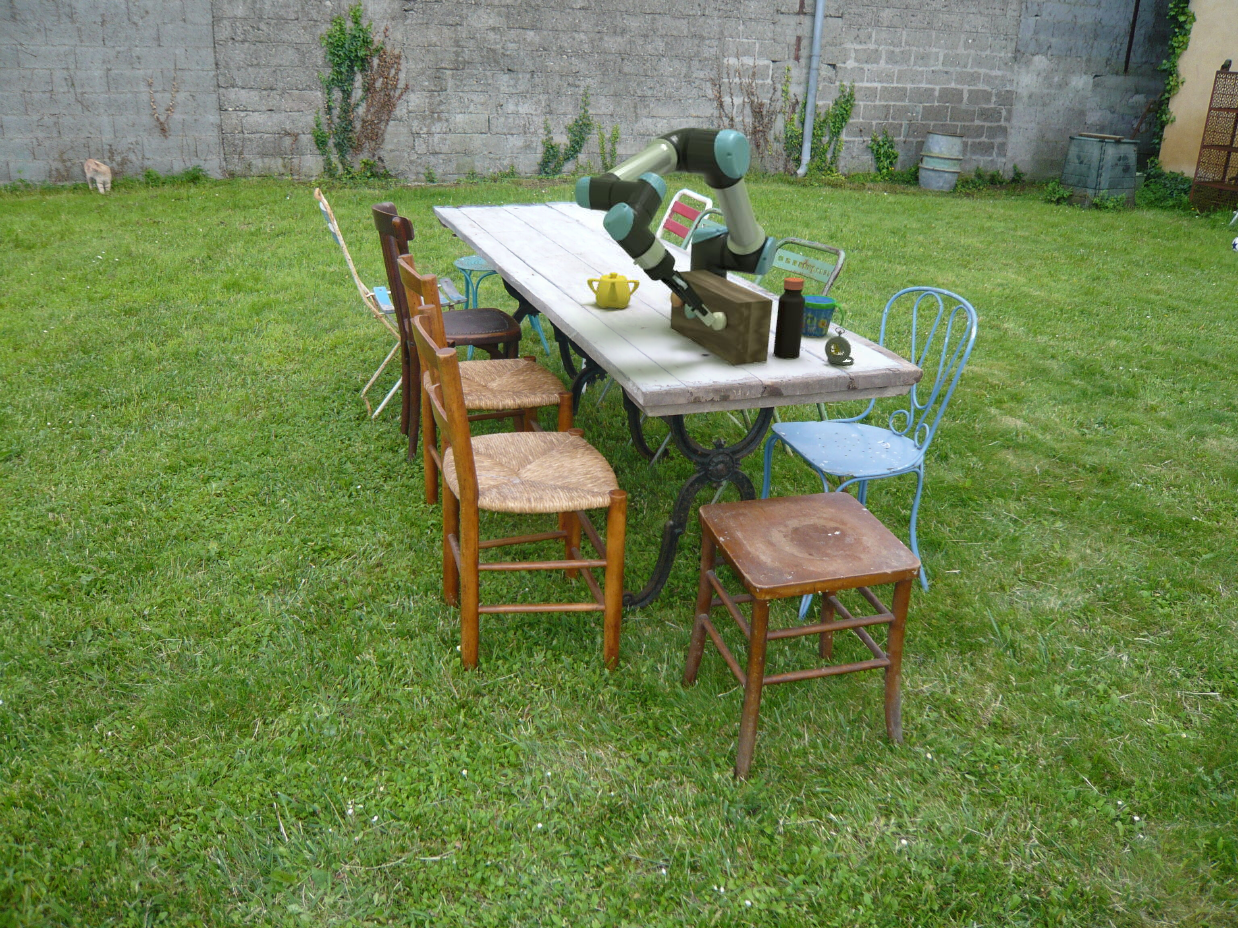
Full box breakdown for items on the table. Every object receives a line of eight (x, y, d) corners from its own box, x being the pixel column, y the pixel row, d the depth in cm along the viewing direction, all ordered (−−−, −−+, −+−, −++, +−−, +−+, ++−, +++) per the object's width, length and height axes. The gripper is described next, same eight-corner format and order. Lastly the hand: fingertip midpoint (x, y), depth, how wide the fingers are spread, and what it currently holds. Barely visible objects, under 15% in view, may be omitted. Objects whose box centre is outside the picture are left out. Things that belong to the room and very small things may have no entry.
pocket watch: (849, 358, 240) (854, 321, 236) (858, 368, 233) (863, 330, 228) (818, 357, 240) (823, 320, 236) (826, 367, 232) (831, 329, 228)
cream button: (718, 332, 231) (720, 315, 229) (710, 327, 235) (711, 310, 233) (737, 330, 233) (739, 313, 231) (729, 325, 237) (730, 309, 235)
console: (732, 365, 232) (737, 302, 225) (670, 328, 262) (673, 272, 255) (766, 361, 236) (772, 300, 229) (701, 325, 266) (705, 270, 259)
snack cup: (845, 334, 261) (850, 299, 257) (834, 343, 253) (839, 306, 249) (793, 325, 268) (797, 291, 264) (780, 334, 260) (784, 298, 255)
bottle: (781, 350, 245) (789, 275, 237) (804, 355, 242) (812, 279, 233) (768, 355, 241) (775, 279, 232) (791, 360, 237) (799, 283, 229)
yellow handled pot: (644, 308, 282) (645, 274, 278) (612, 314, 275) (612, 280, 270) (615, 299, 292) (615, 266, 288) (583, 304, 284) (583, 271, 280)
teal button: (691, 320, 240) (692, 304, 239) (684, 316, 244) (685, 300, 242) (710, 318, 242) (711, 302, 241) (702, 314, 246) (703, 298, 244)
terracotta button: (677, 308, 251) (677, 293, 249) (670, 305, 255) (670, 289, 253) (695, 307, 253) (696, 291, 251) (687, 303, 257) (688, 288, 255)
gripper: (632, 265, 224) (689, 326, 237) (654, 276, 213) (713, 340, 226) (652, 242, 224) (709, 304, 237) (676, 252, 213) (733, 317, 226)
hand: (711, 321), depth 231 cm, fingers closed
